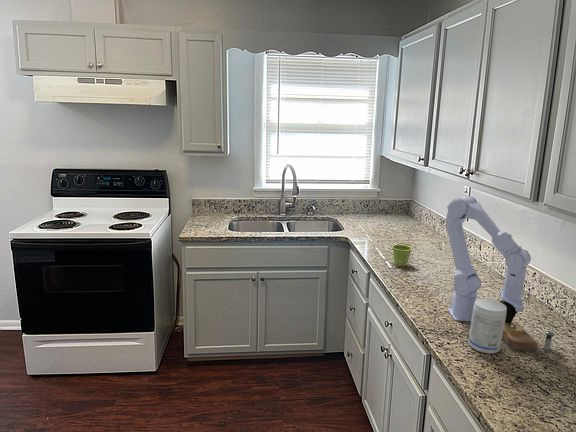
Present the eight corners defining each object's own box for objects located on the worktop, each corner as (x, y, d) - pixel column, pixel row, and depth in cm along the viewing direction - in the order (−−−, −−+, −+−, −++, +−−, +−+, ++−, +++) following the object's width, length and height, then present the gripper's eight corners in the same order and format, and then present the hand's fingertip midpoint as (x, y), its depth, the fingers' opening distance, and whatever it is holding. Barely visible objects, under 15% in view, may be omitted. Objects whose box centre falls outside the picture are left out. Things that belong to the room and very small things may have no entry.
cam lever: (539, 361, 138) (542, 345, 136) (542, 345, 148) (545, 330, 146) (548, 364, 136) (551, 347, 135) (551, 348, 146) (554, 332, 145)
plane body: (493, 328, 158) (495, 320, 157) (515, 330, 158) (517, 322, 157) (511, 350, 144) (513, 341, 143) (535, 352, 143) (537, 343, 142)
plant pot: (402, 269, 214) (404, 251, 212) (386, 263, 220) (388, 246, 218) (414, 265, 220) (416, 248, 218) (397, 260, 226) (399, 243, 224)
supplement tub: (474, 336, 151) (481, 295, 148) (504, 347, 145) (511, 305, 142) (462, 346, 144) (469, 303, 141) (493, 358, 138) (501, 313, 135)
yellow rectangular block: (503, 327, 152) (505, 321, 152) (515, 328, 152) (516, 322, 151) (509, 335, 147) (511, 328, 147) (521, 336, 147) (523, 329, 146)
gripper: (536, 294, 144) (528, 333, 147) (516, 278, 158) (510, 314, 161) (513, 293, 144) (506, 331, 147) (496, 276, 158) (489, 312, 162)
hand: (506, 322), depth 154 cm, fingers closed
